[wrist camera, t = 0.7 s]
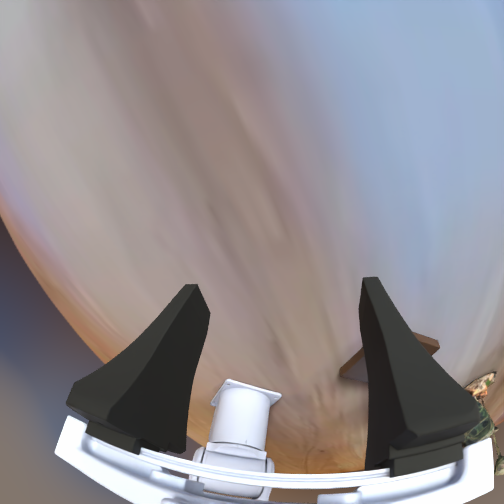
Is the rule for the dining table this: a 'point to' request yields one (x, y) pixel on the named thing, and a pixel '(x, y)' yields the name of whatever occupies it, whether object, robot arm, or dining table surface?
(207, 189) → the dining table surface
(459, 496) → the robot arm
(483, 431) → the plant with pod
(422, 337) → the brown peg stand
